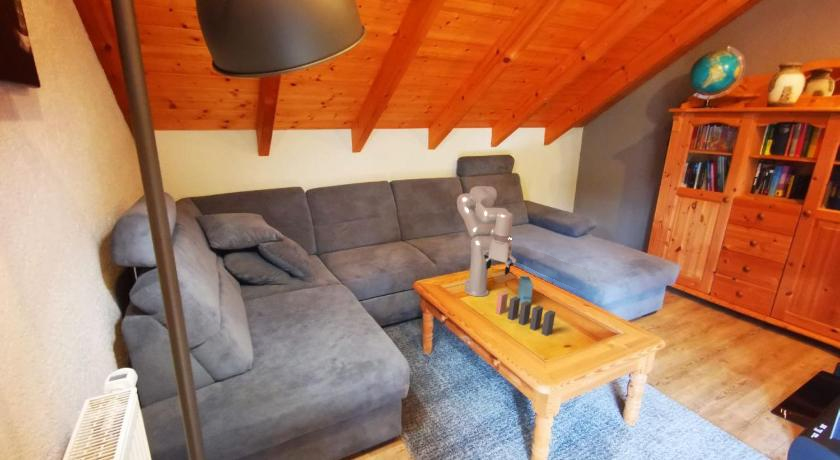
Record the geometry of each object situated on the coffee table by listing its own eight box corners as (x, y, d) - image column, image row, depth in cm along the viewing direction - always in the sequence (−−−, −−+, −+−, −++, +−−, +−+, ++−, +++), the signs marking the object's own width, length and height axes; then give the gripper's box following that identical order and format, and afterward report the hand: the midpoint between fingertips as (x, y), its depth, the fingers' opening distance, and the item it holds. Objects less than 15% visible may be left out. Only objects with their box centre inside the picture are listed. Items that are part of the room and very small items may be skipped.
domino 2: (507, 318, 190) (510, 298, 187) (513, 315, 193) (516, 296, 191) (511, 320, 188) (514, 300, 186) (517, 317, 191) (520, 298, 189)
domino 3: (518, 323, 186) (521, 303, 183) (524, 320, 189) (527, 300, 186) (522, 325, 184) (525, 305, 181) (528, 322, 187) (531, 302, 185)
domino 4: (529, 328, 181) (532, 308, 179) (535, 325, 185) (538, 305, 182) (534, 330, 180) (537, 310, 177) (540, 327, 183) (543, 307, 181)
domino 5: (541, 333, 177) (544, 313, 175) (547, 330, 181) (550, 310, 178) (546, 335, 176) (549, 315, 173) (552, 332, 179) (555, 312, 176)
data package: (530, 306, 205) (533, 284, 202) (521, 305, 205) (524, 283, 202) (525, 296, 217) (528, 275, 214) (517, 295, 217) (520, 275, 214)
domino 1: (495, 313, 195) (497, 294, 192) (501, 310, 198) (503, 291, 195) (499, 314, 193) (502, 295, 190) (505, 312, 196) (508, 293, 194)
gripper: (522, 240, 187) (517, 274, 192) (489, 232, 197) (484, 264, 202) (515, 244, 182) (510, 278, 186) (481, 235, 191) (477, 268, 196)
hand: (497, 271), depth 194 cm, fingers open, 9 cm apart
